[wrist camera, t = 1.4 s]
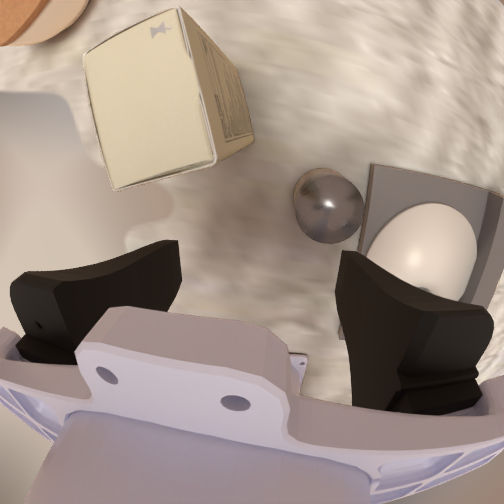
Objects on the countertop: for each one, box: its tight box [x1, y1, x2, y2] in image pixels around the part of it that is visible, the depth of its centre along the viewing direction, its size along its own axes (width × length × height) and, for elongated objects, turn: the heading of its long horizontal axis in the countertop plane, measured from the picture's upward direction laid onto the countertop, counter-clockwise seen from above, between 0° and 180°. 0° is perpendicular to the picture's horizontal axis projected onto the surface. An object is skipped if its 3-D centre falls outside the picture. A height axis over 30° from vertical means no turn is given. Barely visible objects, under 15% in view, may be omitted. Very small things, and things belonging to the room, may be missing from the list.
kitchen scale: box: [338, 164, 504, 340], centre depth 20 cm, size 16×15×3 cm
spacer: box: [294, 168, 364, 244], centre depth 18 cm, size 4×4×4 cm
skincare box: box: [83, 6, 254, 192], centre depth 13 cm, size 6×4×12 cm
